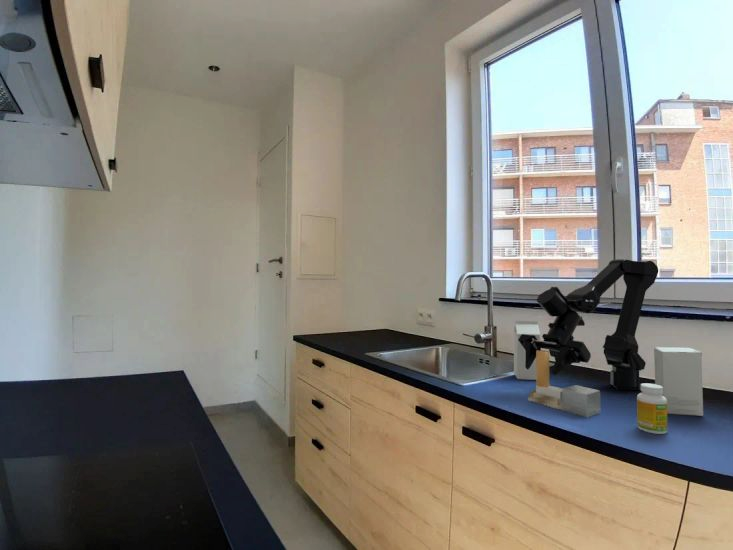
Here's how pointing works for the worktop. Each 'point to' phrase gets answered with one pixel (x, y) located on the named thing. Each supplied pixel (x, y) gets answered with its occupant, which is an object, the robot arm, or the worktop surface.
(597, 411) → the socket
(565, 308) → the robot arm
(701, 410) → the skincare box
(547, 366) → the orange upright rod
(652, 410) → the supplement bottle
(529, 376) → the milk carton
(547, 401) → the cradle
